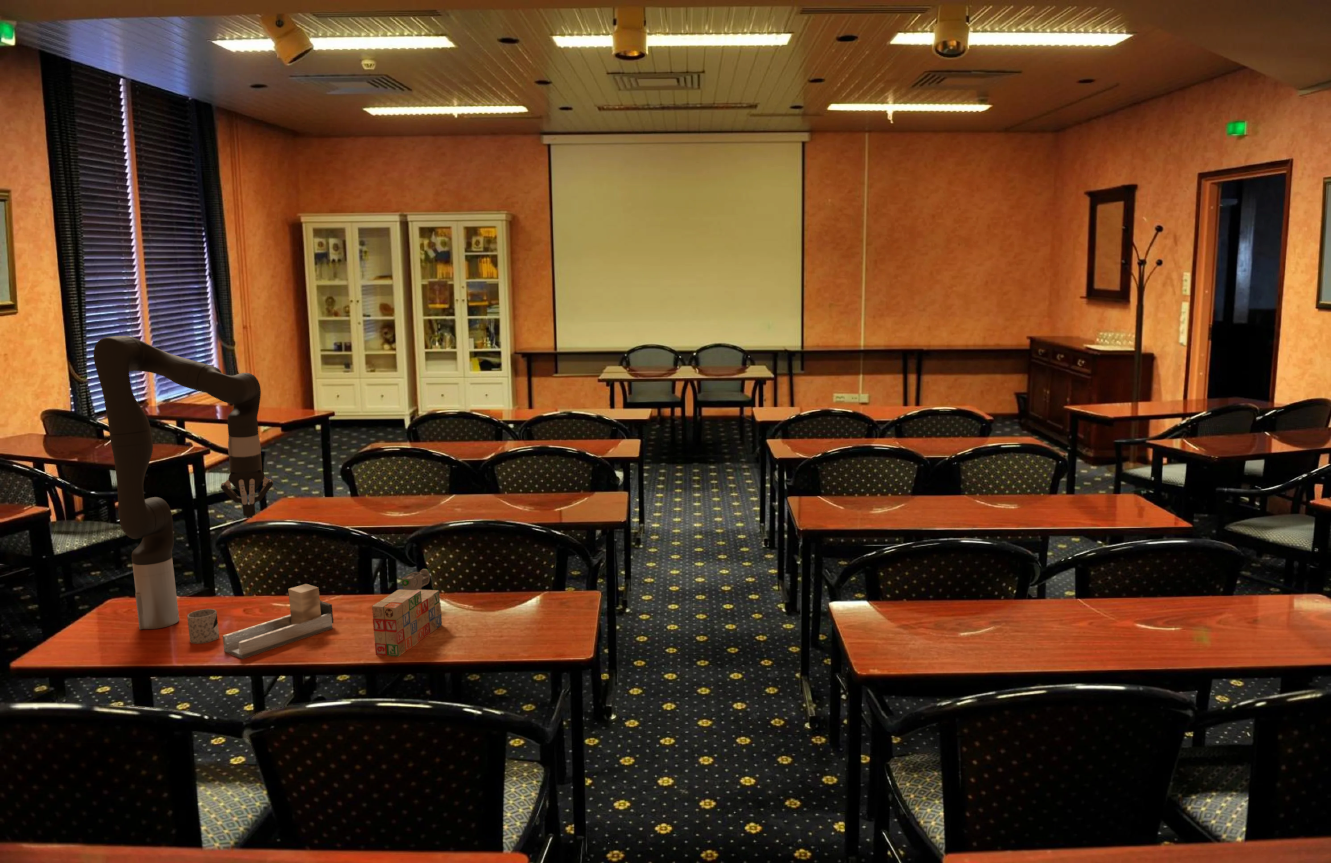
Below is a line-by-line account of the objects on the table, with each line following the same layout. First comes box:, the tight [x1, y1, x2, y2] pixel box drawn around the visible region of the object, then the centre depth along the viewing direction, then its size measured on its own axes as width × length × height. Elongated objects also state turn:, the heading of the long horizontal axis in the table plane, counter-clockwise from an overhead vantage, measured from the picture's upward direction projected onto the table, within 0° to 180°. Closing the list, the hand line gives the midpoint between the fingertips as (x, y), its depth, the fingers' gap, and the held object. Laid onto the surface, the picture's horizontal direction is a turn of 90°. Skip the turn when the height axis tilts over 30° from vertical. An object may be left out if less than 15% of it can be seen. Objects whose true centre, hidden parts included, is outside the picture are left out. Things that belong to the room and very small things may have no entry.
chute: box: [222, 600, 334, 660], centre depth 240 cm, size 25×8×6 cm, turn 141°
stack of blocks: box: [371, 589, 443, 657], centre depth 237 cm, size 21×6×12 cm, turn 165°
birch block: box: [288, 583, 321, 625], centre depth 245 cm, size 5×6×10 cm
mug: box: [186, 608, 220, 645], centre depth 244 cm, size 10×7×7 cm, turn 37°
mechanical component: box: [401, 568, 431, 590], centre depth 259 cm, size 3×10×10 cm, turn 161°
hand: (249, 517), depth 251 cm, fingers closed
